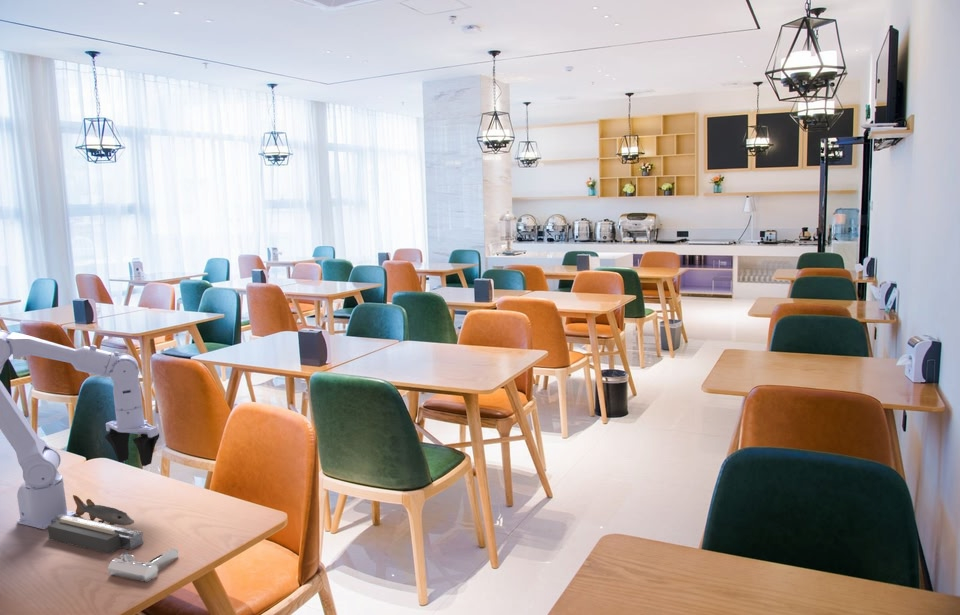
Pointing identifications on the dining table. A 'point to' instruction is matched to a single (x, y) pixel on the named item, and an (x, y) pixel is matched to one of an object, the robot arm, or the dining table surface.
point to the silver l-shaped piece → (140, 566)
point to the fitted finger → (84, 535)
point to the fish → (102, 513)
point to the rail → (127, 536)
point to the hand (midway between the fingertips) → (135, 462)
